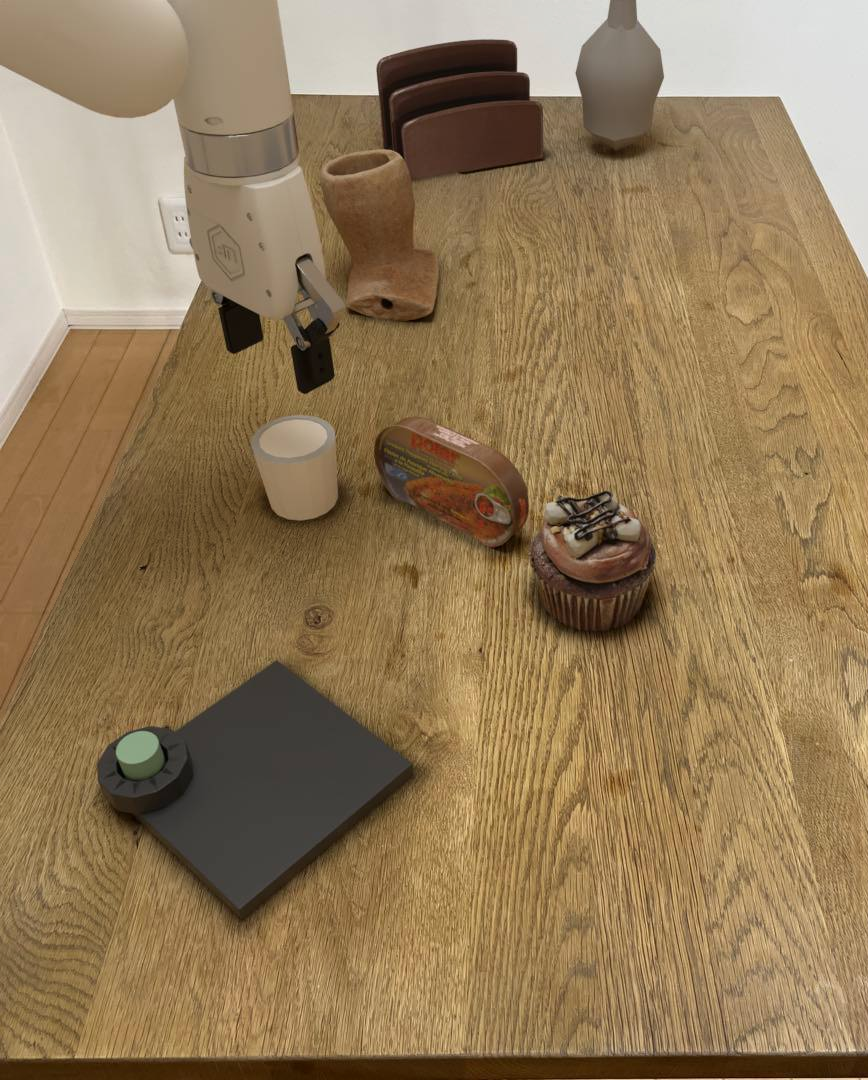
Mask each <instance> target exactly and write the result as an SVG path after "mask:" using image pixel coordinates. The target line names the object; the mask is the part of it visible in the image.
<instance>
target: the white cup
mask: <svg viewBox="0 0 868 1080" xmlns="http://www.w3.org/2000/svg"><path fill="white" fill-rule="evenodd" d="M250 443H251V450H252V453H253V456H254V460H255V462H256V465H257V468H258V472H259V474H260V477H261V480H262V484H263V487H264V490H265V492H266V496H267V499H268V502H269V505H270V508H271V510H272V511H273V512H274V513H275V514H276V515H277V516H279V517H281V518H284V519H286V520H289V521H290V520H291V521H306V520H312V519H313V520H314V519H316V518H319V517H322V516H323V515H325V514H327V513H328V512H329V511H331V509H333V508H334V507H335V505H336V504H337V501H338V498H339V492H338V491H339V489H338V462H337V438H336V431H335V428H334V426H332V425H331V424H330V423H329V422H328V421H327V420H326V419H322V418H320V417H317V416H314V415H306V414H305V415H303V414H294V415H288V416H280V417H278V418H276V419H274V420H271V421H268V422H266V423H264V424H263V425H261V427H259V428H258V429H257V430H255V433H254V434H253V435H252V438H251V440H250Z"/></svg>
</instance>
